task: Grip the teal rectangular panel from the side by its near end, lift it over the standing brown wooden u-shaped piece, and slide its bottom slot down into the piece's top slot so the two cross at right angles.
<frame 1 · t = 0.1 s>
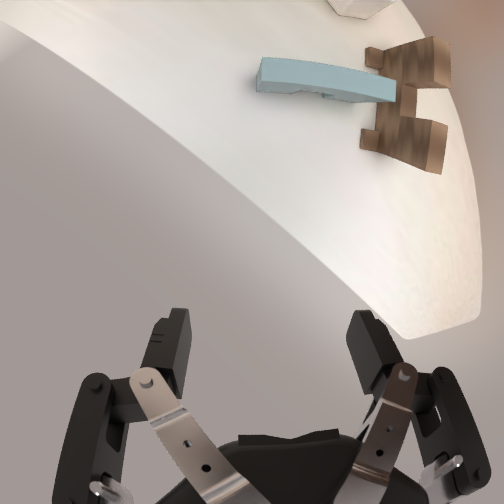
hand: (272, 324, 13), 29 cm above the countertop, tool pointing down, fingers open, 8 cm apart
teal rectangular panel: (307, 87, 32), on the countertop
brown wooden u-shaped piece: (384, 101, 33), on the countertop
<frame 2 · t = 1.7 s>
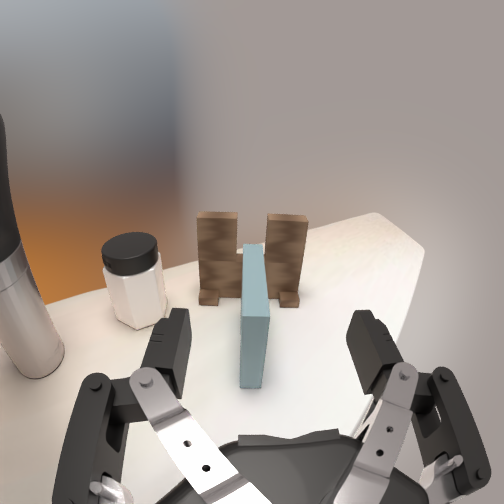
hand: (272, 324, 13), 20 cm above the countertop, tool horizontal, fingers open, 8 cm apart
jar: (142, 312, 41), on the countertop
teal rectangular panel: (249, 346, 36), on the countertop
brown wooden u-shaped piece: (248, 293, 47), on the countertop
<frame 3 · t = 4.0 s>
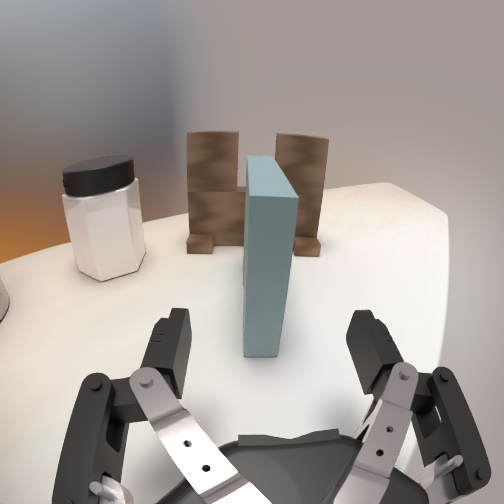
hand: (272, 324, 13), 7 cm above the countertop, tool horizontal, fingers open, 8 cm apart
jar: (113, 263, 30), on the countertop
teal rectangular panel: (256, 299, 26), on the countertop
brown wooden u-shaped piece: (253, 241, 36), on the countertop
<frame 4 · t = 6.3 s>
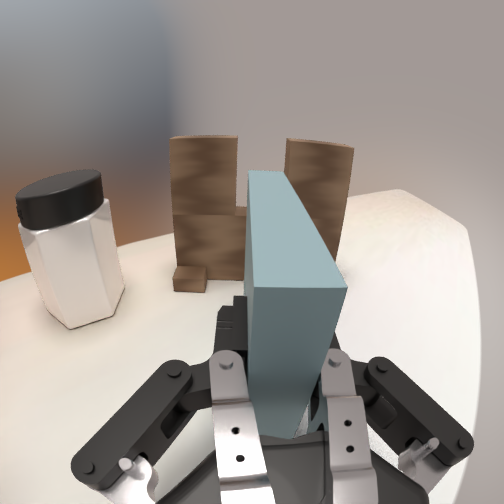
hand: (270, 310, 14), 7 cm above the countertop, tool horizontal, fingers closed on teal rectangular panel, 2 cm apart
jar: (86, 301, 24), on the countertop
teal rectangular panel: (260, 363, 19), on the countertop, touching gripper
brown wooden u-shaped piece: (255, 273, 29), on the countertop
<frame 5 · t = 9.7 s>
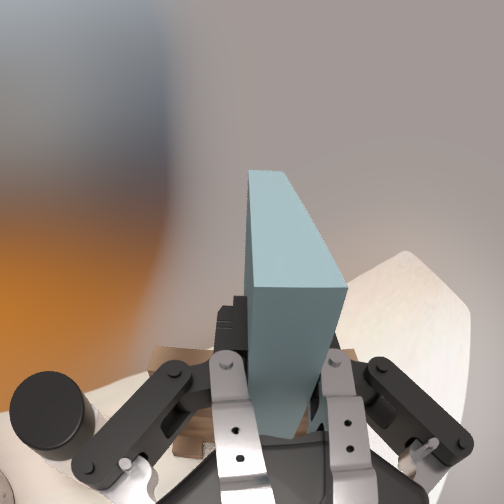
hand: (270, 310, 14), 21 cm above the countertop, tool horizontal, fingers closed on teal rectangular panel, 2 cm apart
jar: (97, 457, 20), on the countertop
teal rectangular panel: (260, 363, 19), point 14 cm above the countertop, touching gripper
brown wooden u-shaped piece: (248, 434, 26), on the countertop
when the fingers open (8 cm above the countertop, at t = 13.0 s): teal rectangular panel stays where it is, resting on brown wooden u-shaped piece.
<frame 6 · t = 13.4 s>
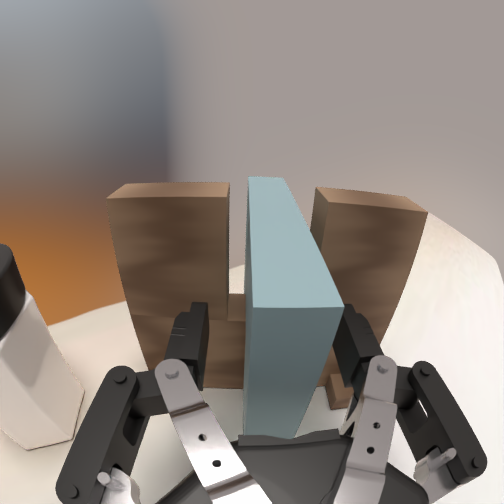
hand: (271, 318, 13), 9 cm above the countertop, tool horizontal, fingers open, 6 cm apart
jar: (41, 406, 14), on the countertop
teal rectangular panel: (260, 368, 19), point 1 cm above the countertop, touching brown wooden u-shaped piece
brown wooden u-shaped piece: (258, 375, 20), on the countertop
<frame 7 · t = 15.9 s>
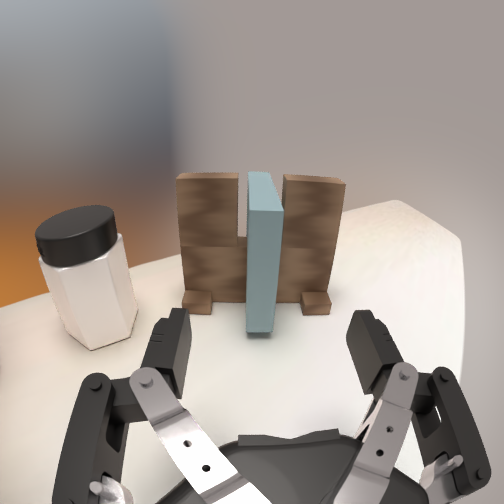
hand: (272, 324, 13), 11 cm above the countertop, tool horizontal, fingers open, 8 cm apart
jar: (103, 323, 26), on the countertop
teal rectangular panel: (256, 289, 32), point 1 cm above the countertop, touching brown wooden u-shaped piece
brown wooden u-shaped piece: (256, 296, 32), on the countertop
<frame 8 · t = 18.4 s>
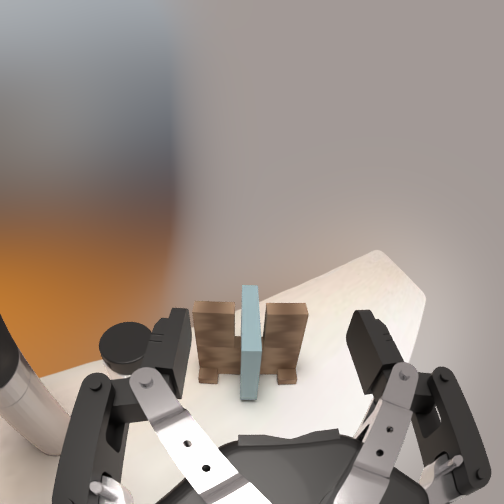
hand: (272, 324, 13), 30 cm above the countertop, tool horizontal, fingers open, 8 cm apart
jar: (145, 389, 39), on the countertop
teal rectangular panel: (247, 365, 44), point 1 cm above the countertop, touching brown wooden u-shaped piece
brown wooden u-shaped piece: (247, 368, 45), on the countertop
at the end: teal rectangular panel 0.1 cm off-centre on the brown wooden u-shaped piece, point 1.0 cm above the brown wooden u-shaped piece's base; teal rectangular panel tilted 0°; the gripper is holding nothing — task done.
